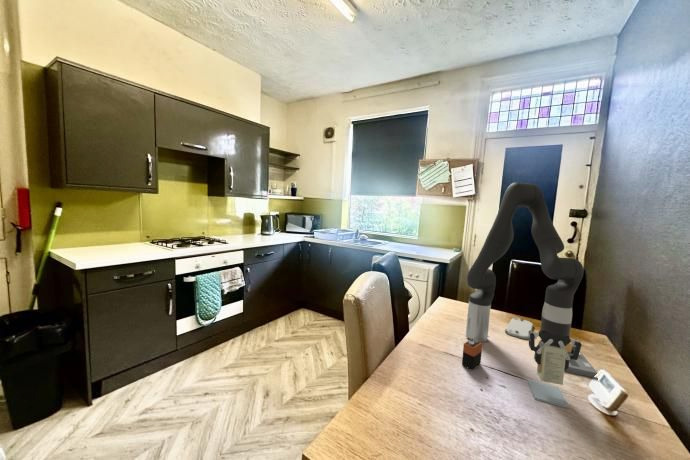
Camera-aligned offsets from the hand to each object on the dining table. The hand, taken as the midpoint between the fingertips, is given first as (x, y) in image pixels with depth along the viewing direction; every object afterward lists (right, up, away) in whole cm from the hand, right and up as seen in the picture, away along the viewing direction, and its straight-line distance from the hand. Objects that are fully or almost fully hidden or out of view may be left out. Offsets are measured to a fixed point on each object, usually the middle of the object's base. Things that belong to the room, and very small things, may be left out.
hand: (550, 365), depth 88 cm
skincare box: (0, -5, 0) cm, 5 cm away
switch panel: (+24, -9, +22) cm, 34 cm away
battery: (-19, -8, +16) cm, 26 cm away
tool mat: (-1, -10, +1) cm, 10 cm away
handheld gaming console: (+22, -7, +49) cm, 54 cm away
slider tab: (+26, -6, +25) cm, 37 cm away
